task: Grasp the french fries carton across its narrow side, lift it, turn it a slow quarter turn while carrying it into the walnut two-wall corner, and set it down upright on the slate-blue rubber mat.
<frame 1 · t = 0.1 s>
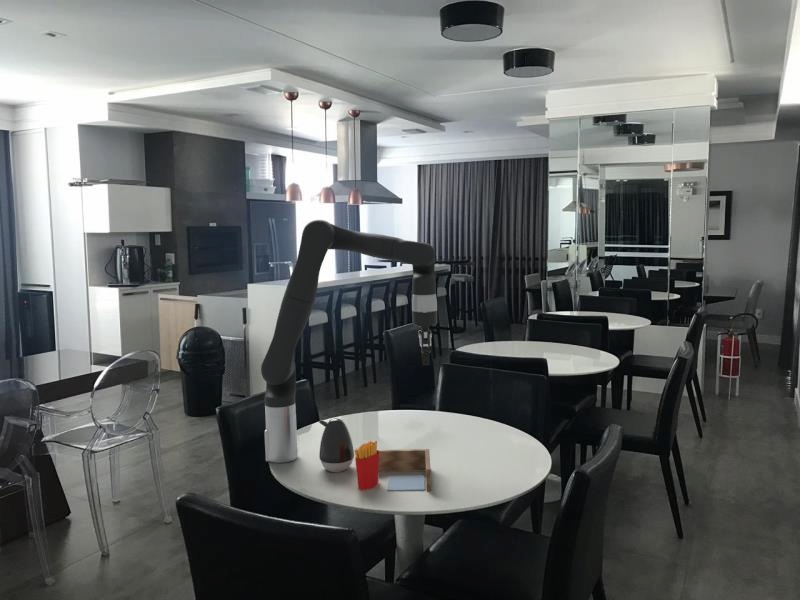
hand: (425, 362, 200), 29 cm above the table, fingers open, 8 cm apart
wooden corner bracket: (390, 479, 185), on the table
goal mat: (406, 483, 182), on the table
french fries: (367, 486, 181), on the table
pump dispenser: (336, 469, 194), on the table
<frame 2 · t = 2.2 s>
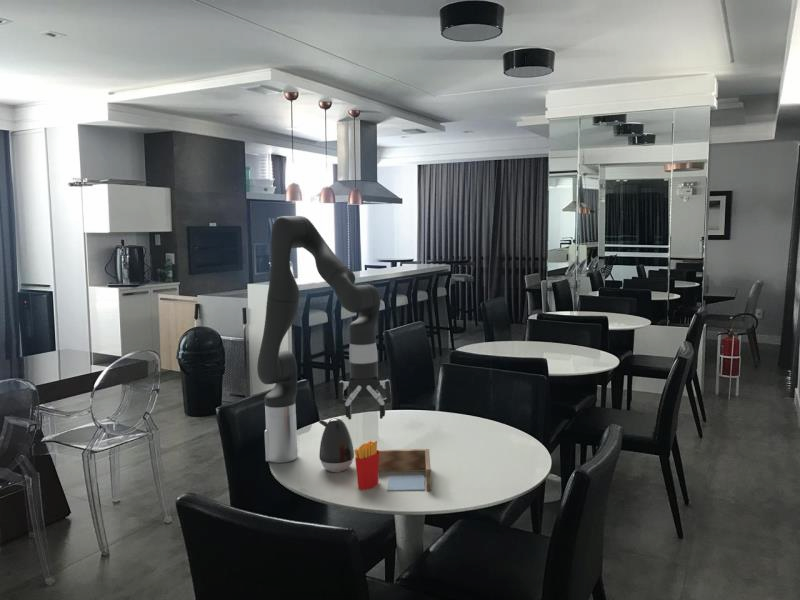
hand: (365, 418, 179), 19 cm above the table, fingers open, 8 cm apart
nothing on the table moved.
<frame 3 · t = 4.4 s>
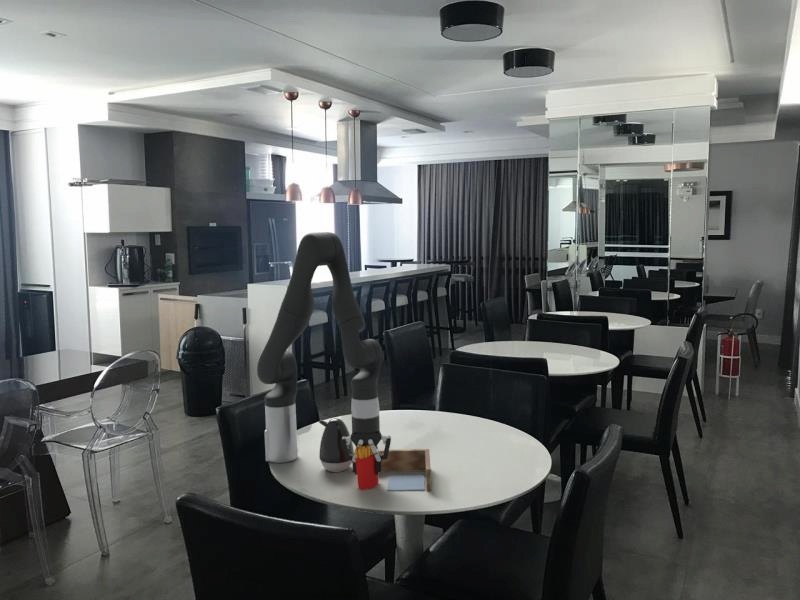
hand: (367, 473, 180), 3 cm above the table, fingers closed on french fries, 5 cm apart
french fries: (367, 486, 181), on the table, touching gripper
everything else where it was.
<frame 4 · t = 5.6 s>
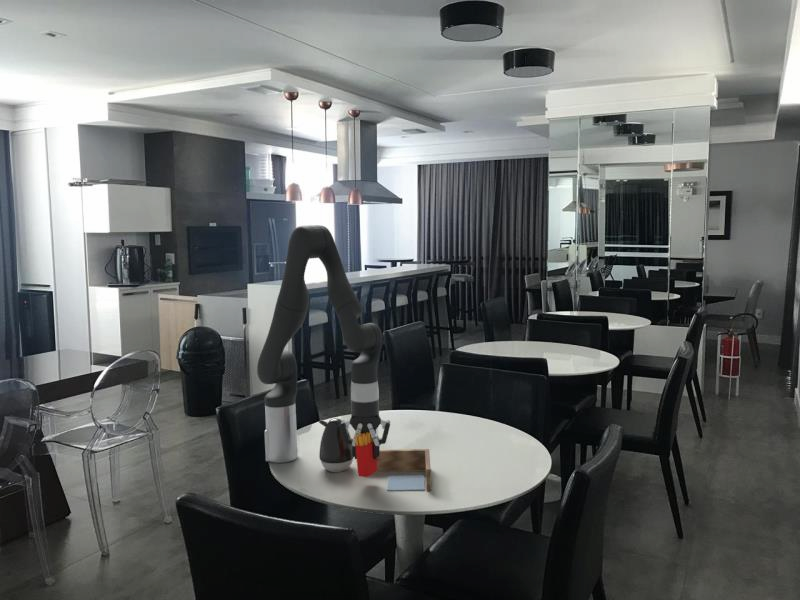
hand: (366, 457, 180), 8 cm above the table, fingers closed on french fries, 4 cm apart
french fries: (367, 473, 181), point 3 cm above the table, touching gripper
everything else where it was.
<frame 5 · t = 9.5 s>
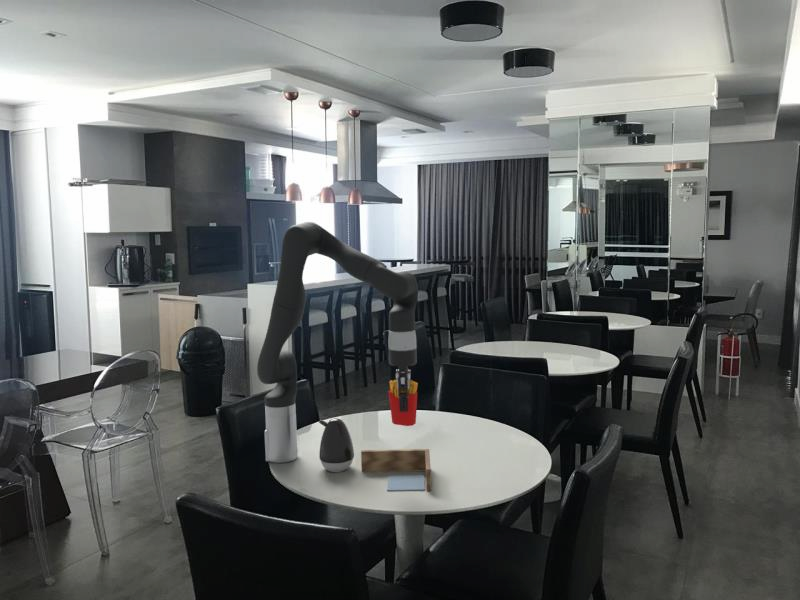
hand: (403, 408, 179), 21 cm above the table, fingers closed on french fries, 4 cm apart
french fries: (404, 423, 180), point 17 cm above the table, touching gripper
everything else where it was.
when the fingers open (5 cm above the table, at t = 13.3 s): french fries stays where it is, resting on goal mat.
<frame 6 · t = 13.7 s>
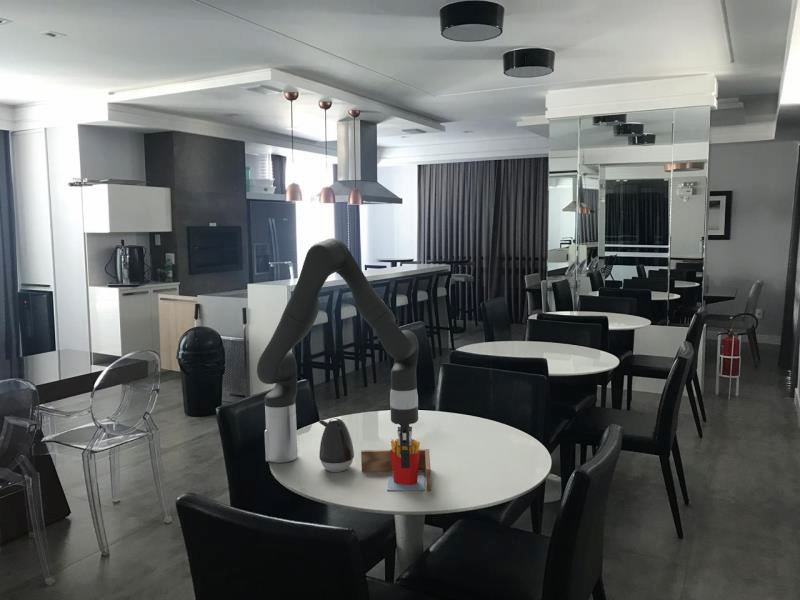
hand: (405, 462, 181), 6 cm above the table, fingers open, 8 cm apart
french fries: (406, 482, 182), resting on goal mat
everything else where it was.
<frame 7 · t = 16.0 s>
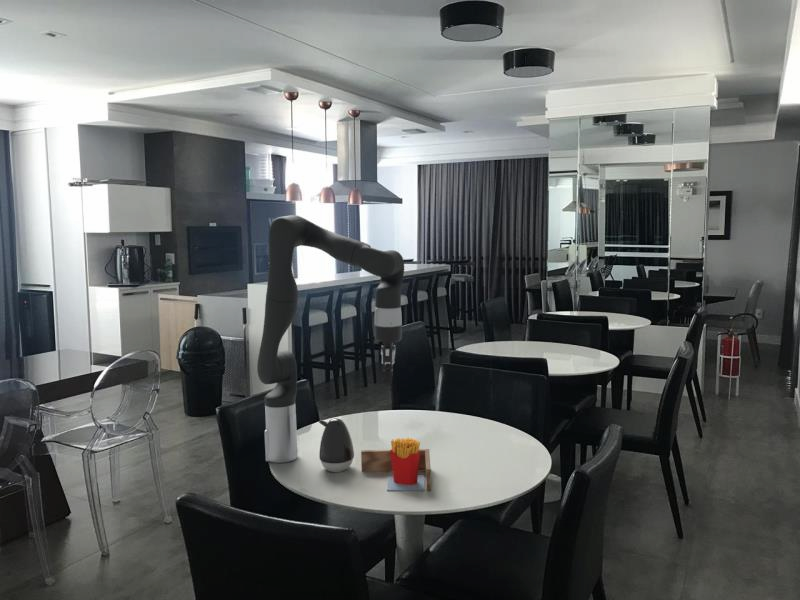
hand: (388, 380, 184), 28 cm above the table, fingers open, 8 cm apart
nothing on the table moved.
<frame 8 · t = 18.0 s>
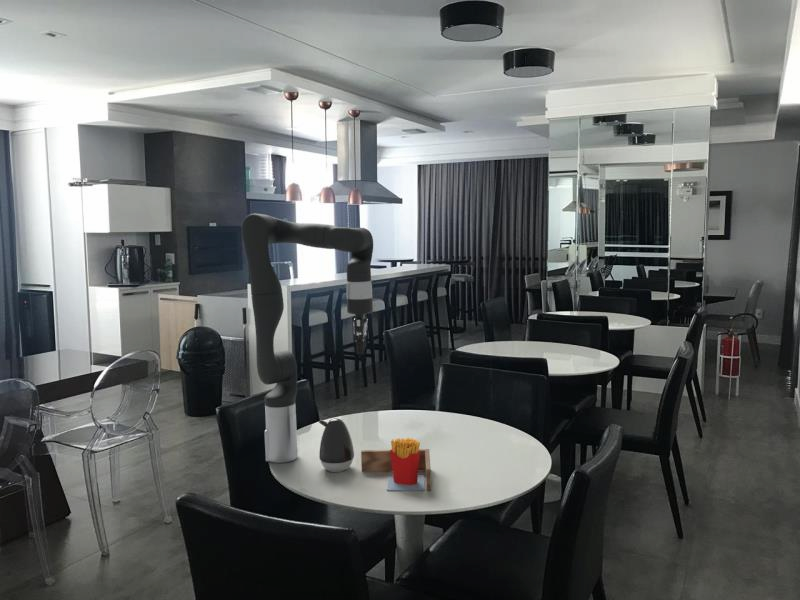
hand: (361, 351, 194), 34 cm above the table, fingers open, 8 cm apart
nothing on the table moved.
at the end: french fries inside the target area on the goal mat (0.4 cm from its centre), point 0.1 cm above the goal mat's base; french fries tilted 0°; the gripper is holding nothing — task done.
